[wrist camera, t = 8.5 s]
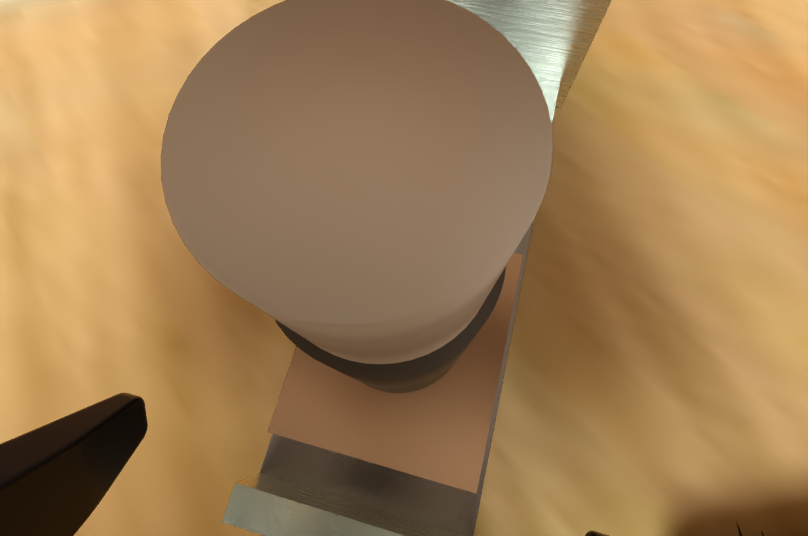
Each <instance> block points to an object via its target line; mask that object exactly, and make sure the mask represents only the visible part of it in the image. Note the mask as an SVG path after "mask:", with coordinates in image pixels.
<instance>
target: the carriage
mask: <svg viewBox="0 0 808 536" xmlns="http://www.w3.org/2000/svg"><path fill="white" fill-rule="evenodd" d="M552 155H553V139H552V125H551V120H550V115H549V111H548V106H547V103H546V100H545V98H544V95H543V92H542V89H541V87H540V85H539V83H538V81H537V79H536V77H535V75H534V73H533V72H532V70H531V68H530V66H529V65H528V64H527V62H526V61H525V60H524V58H523V57H522V55H521V54H520V53H519V51H518V50H517V49H516V48H515V47H514V46H513V45H512V44H511V43H510V42H509V41H508V40H507V39H506V38H505V37H504V36H503V34H501V33H500V32H499V31H498V30H496V29H495V28H494V27H493V26H491V25H490V24H489V23H488V22H486V21H485V20H483V19H482V18H480V17H478V16H477V15H475V14H474V13H472V12H470V11H469V10H467V9H465V8H463V7H461V6H459V5H456V4H454V3H452V2H450V1H448V0H286V1H284V2H281V3H278V4H276V5H273V6H271V7H270V8H268V9H266V10H264V11H262V12H260V13H258V14H256V15H254V16H252V17H251V18H249V19H248V20H246V21H245V22H243V23H242V24H240V25H239V26H237V27H236V28H234V29H233V30H232V31H231V32H229V33H228V34H227V35H226V36H224V37H223V38H222V39H221V40H220V41H218V42H217V43H216V44H215V45H214V46H213V47H212V48H211V49H210V50H209V51H208V53H207V54H206V55H205V56H204V57H203V58H202V59H201V60H200V61H199V63H198V64H197V65H196V67H195V68H194V69H193V71H192V72H191V73H190V74H189V76H188V78H187V79H186V81H185V83H184V84H183V86H182V88H181V90H180V91H179V93H178V95H177V97H176V99H175V102H174V104H173V107H172V109H171V111H170V114H169V117H168V120H167V124H166V128H165V132H164V135H163V143H162V151H161V180H162V186H163V191H164V196H165V202H166V205H167V207H168V210H169V213H170V216H171V219H172V222H173V224H174V226H175V228H176V230H177V231H178V233H179V235H180V237H181V239H182V241H183V242H184V244H185V246H186V247H187V248H188V250H189V251H190V252H191V253H192V255H193V256H194V257H195V259H196V260H197V261H198V263H199V264H200V265H201V266H202V267H203V268H204V269H205V270H206V271H208V272H209V273H210V274H211V275H212V276H213V277H214V278H215V279H216V280H217V281H218V282H219V283H221V284H222V285H224V286H225V287H227V288H228V289H229V290H231V291H232V292H234V293H235V294H237V295H238V296H239V297H241V298H243V299H244V300H246V301H247V302H249V303H250V304H252V305H254V306H255V307H257V308H258V309H260V310H261V311H263V312H265V313H266V314H268V315H269V316H271V317H272V318H274V319H275V321H276V323H277V324H278V326H279V327H280V328H281V330H282V331H283V332H284V333H285V335H286V336H287V337H288V338H289V339H290V340H291V341H292V342H293V343H294V344H295V345H296V349H295V352H294V355H293V358H292V361H291V364H290V367H289V370H288V373H287V376H286V379H285V382H284V385H283V387H282V390H281V393H280V396H279V399H278V402H277V405H276V408H275V411H274V414H273V417H272V420H271V423H270V426H269V429H268V432H269V433H272V434H276V435H279V436H282V437H286V438H289V439H293V440H296V441H299V442H303V443H306V444H310V445H313V446H316V447H320V448H323V449H327V450H330V451H333V452H337V453H340V454H343V455H347V456H350V457H354V458H357V459H360V460H364V461H367V462H371V463H374V464H377V465H381V466H384V467H388V468H391V469H394V470H398V471H401V472H405V473H408V474H411V475H415V476H418V477H421V478H425V479H428V480H432V481H435V482H438V483H442V484H445V485H449V486H452V487H455V488H459V489H462V490H466V491H469V492H472V493H476V494H477V489H478V484H479V479H480V474H481V469H482V463H483V458H484V453H485V448H486V443H487V438H488V432H489V427H490V422H491V417H492V412H493V407H494V401H495V396H496V391H497V386H498V381H499V376H500V371H501V365H502V360H503V355H504V350H505V345H506V340H507V334H508V329H509V324H510V319H511V314H512V309H513V303H514V298H515V293H516V288H517V283H518V278H519V273H520V267H521V262H522V257H523V255H521V254H517V253H514V252H515V250H516V248H517V247H518V245H519V243H520V242H521V240H522V238H523V237H524V235H525V233H526V232H527V230H528V229H529V227H530V225H531V224H532V222H533V220H534V219H535V216H536V214H537V212H538V210H539V207H540V205H541V203H542V200H543V198H544V196H545V192H546V188H547V184H548V181H549V177H550V173H551V164H552Z"/></svg>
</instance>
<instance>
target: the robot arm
mask: <svg viewBox="0 0 808 536" xmlns="http://www.w3.org/2000/svg"><path fill="white" fill-rule="evenodd" d="M147 426H148V425H147V417H146V410H145V403H144V400H143V399H142V398H141V397H139V396H135V395H132V394H129V393H120V394H117V395H115V396H112V397H110V398H108V399H105V400H103V401H101V402H98V403H96V404H94V405H91V406H89V407H87V408H84V409H82V410H80V411H77V412H75V413H72V414H70V415H68V416H65V417H63V418H61V419H58V420H56V421H54V422H51V423H49V424H47V425H44V426H42V427H40V428H37V429H35V430H32V431H30V432H28V433H25V434H23V435H21V436H18V437H16V438H14V439H11V440H9V441H7V442H4V443H2V444H0V536H73V535H74V534H75V533H76V532H77V531H78V529H79V528H80V527H81V526H82V524H83V523H84V522H85V521H86V519H87V518H88V517H89V516H90V514H91V513H92V512H93V511H94V509H95V508H96V507H97V505H98V504H99V502H100V501H101V500H102V498H103V497H104V495H105V494H106V492H107V491H108V489H109V488H110V486H111V485H112V484H113V482H114V481H115V479H116V478H117V476H118V475H119V473H120V472H121V470H122V469H123V467H124V466H125V464H126V463H127V461H128V460H129V459H130V457H131V456H132V454H133V453H134V451H135V450H136V448H137V447H138V445H139V444H140V442H141V441H142V439H143V438H144V436H145V434H146V431H147ZM585 536H609V535H605V534H602V533H599V532H595V531H589V532H588V533H587V534H586V535H585Z"/></svg>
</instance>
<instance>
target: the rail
mask: <svg viewBox="0 0 808 536" xmlns="http://www.w3.org/2000/svg"><path fill="white" fill-rule="evenodd" d="M448 1H450V2H452V3H454V4H456V5H459V6H461V7H463V8H465V9H467V10H469V11H470V12H472V13H474V14H475V15H477V16H478V17H480V18H482V19H483V20H485V21H486V22H488V23H489V24H490V25H491V26H493V27H494V28H495V29H496V30H498V31H499V32H500V33H501V34H503V36H504V37H505V38H506V39H507V40H508V41H509V42H510V43H511V44H512V45H513V46H514V47H515V48H516V49H517V50H518V51H519V53H520V54H521V55H522V57H523V58H524V60H525V61H526V62H527V64H528V65H529V66H530V68H531V70H532V72H533V73H534V75H535V77H536V79H537V81H538V83H539V85H540V87H541V89H542V92H543V95H544V98H545V100H546V103H547V106H548V111H549V115H550V120H551V125H552V121H553V116H554V111H555V107H558V108H561V107H562V104H563V102H564V100H565V98H566V96H567V94H568V92H569V90H570V87H571V85H572V83H573V81H574V79H575V77H576V75H577V73H578V70H579V68H580V66H581V64H582V62H583V60H584V58H585V56H586V53H587V51H588V49H589V47H590V45H591V43H592V41H593V39H594V36H595V34H596V32H597V30H598V28H599V26H600V24H601V22H602V19H603V17H604V15H605V13H606V11H607V9H608V7H609V5H610V2H611V0H448ZM533 221H534V220H533ZM532 226H533V222H532V224H531V225H530V227H529V229H528V230H527V232H526V233H525V235H524V237H523V238H522V240H521V242H520V243H519V245H518V247H517V248H516V250H515V252H514V253H517V254H521V255H523V257H522V262H521V267H520V273H519V278H518V283H517V288H516V293H515V298H514V303H513V309H512V314H511V319H510V324H509V329H508V334H507V340H506V345H505V350H504V355H503V360H502V365H501V371H500V376H499V381H498V386H497V391H496V396H495V401H494V407H493V412H492V417H491V422H490V427H489V432H488V438H487V443H486V448H485V453H484V458H483V463H482V469H481V474H480V479H479V484H478V489H477V494H476V493H472V492H469V491H466V490H462V489H459V488H455V487H452V486H449V485H445V484H442V483H438V482H435V481H432V480H428V479H425V478H421V477H418V476H415V475H411V474H408V473H405V472H401V471H398V470H394V469H391V468H388V467H384V466H381V465H377V464H374V463H371V462H367V461H364V460H360V459H357V458H354V457H350V456H347V455H343V454H340V453H337V452H333V451H330V450H327V449H323V448H320V447H316V446H313V445H310V444H306V443H303V442H299V441H296V440H293V439H289V438H286V437H282V436H279V435H276V434H273V435H272V438H271V441H270V444H269V447H268V451H267V454H266V457H265V460H264V463H263V466H262V469H261V472H260V473H259V474H257V475H254V476H252V477H249V478H247V479H244V480H242V481H239V482H237V483H235V485H234V488H233V491H232V494H231V497H230V500H229V503H228V506H227V509H226V511H225V514H224V517H223V520H222V522H223V523H227V524H230V525H233V526H236V527H239V528H242V529H245V530H248V531H251V532H254V533H258V534H261V535H264V536H473V535H474V530H475V524H476V519H477V514H478V509H479V503H480V498H481V493H482V488H483V482H484V477H485V472H486V467H487V461H488V456H489V451H490V446H491V441H492V435H493V430H494V425H495V420H496V414H497V409H498V404H499V399H500V393H501V388H502V383H503V378H504V372H505V367H506V362H507V357H508V352H509V346H510V341H511V336H512V331H513V325H514V320H515V315H516V310H517V304H518V299H519V294H520V289H521V283H522V278H523V273H524V268H525V263H526V257H527V252H528V247H529V242H530V236H531V231H532Z"/></svg>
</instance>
